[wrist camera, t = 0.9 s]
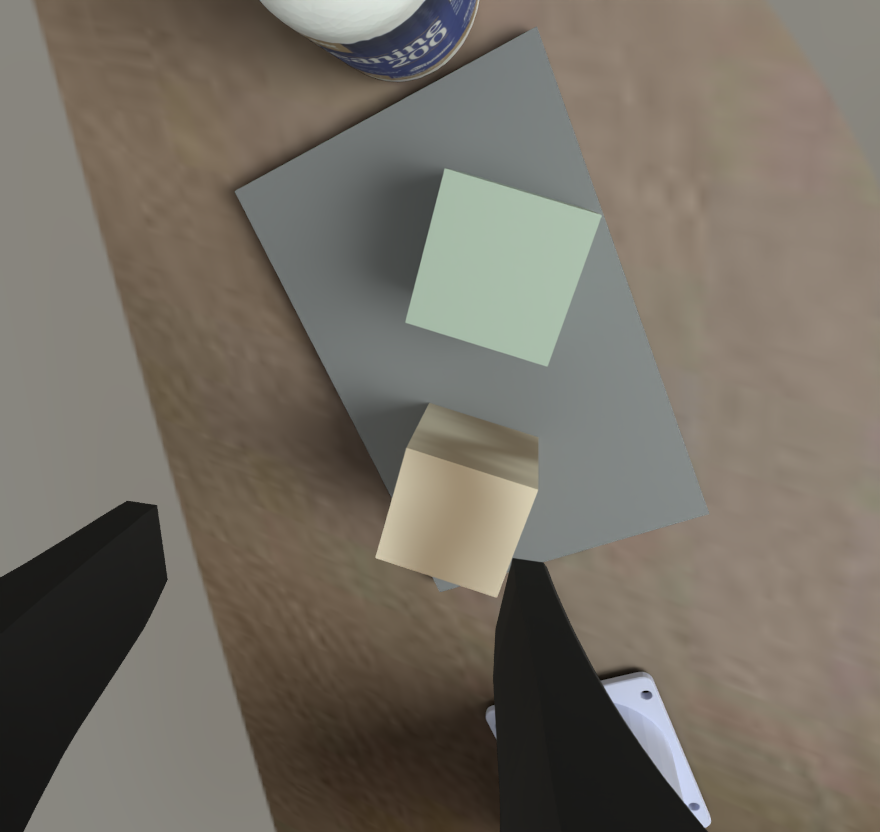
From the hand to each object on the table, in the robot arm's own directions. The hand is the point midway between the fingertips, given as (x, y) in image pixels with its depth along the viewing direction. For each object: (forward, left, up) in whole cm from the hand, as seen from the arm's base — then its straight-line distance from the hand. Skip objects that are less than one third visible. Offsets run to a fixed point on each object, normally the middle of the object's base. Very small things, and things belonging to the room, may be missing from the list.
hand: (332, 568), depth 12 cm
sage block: (+3, -4, -12) cm, 13 cm away
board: (0, -2, -13) cm, 13 cm away
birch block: (-4, 0, -12) cm, 12 cm away
